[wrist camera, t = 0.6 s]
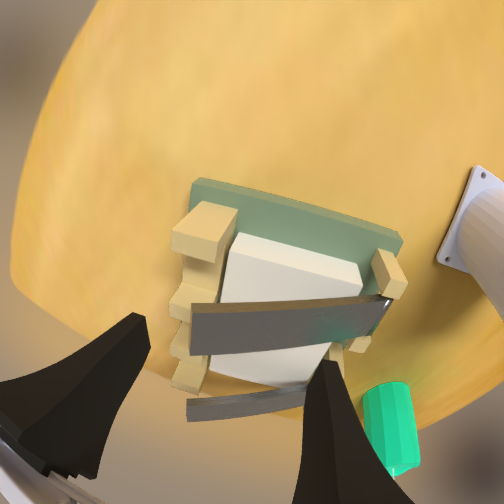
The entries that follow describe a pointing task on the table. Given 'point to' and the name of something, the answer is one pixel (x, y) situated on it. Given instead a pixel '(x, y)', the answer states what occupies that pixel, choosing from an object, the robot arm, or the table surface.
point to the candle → (392, 426)
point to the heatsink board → (273, 274)
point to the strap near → (281, 323)
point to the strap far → (245, 404)
